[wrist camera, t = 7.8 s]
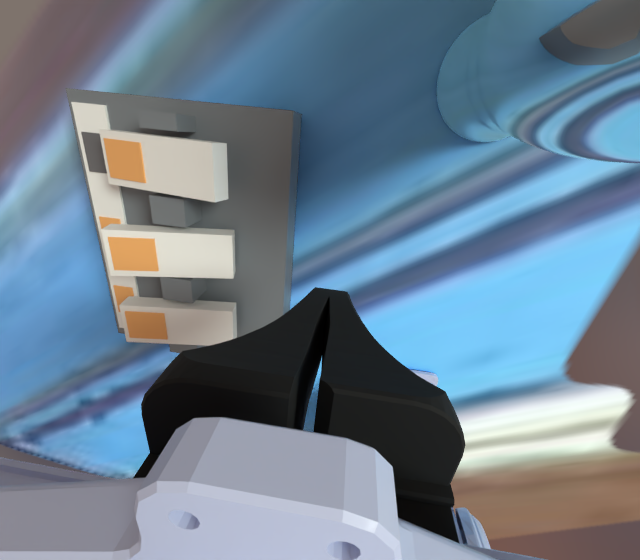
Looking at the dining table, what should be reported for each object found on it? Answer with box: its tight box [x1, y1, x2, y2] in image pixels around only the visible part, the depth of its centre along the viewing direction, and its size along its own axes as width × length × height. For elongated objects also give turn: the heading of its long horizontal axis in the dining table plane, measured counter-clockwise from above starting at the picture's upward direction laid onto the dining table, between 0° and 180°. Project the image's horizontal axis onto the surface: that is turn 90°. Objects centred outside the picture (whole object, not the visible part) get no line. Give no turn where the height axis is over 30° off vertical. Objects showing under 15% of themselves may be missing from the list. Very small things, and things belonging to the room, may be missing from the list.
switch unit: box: [66, 88, 302, 353], centre depth 21 cm, size 16×13×4 cm
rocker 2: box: [119, 296, 237, 346], centre depth 21 cm, size 3×7×1 cm, turn 85°
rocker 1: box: [99, 129, 228, 202], centre depth 17 cm, size 3×7×1 cm, turn 85°
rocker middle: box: [101, 224, 235, 279], centre depth 19 cm, size 3×7×1 cm, turn 85°
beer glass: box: [437, 0, 640, 163], centre depth 10 cm, size 7×7×15 cm
